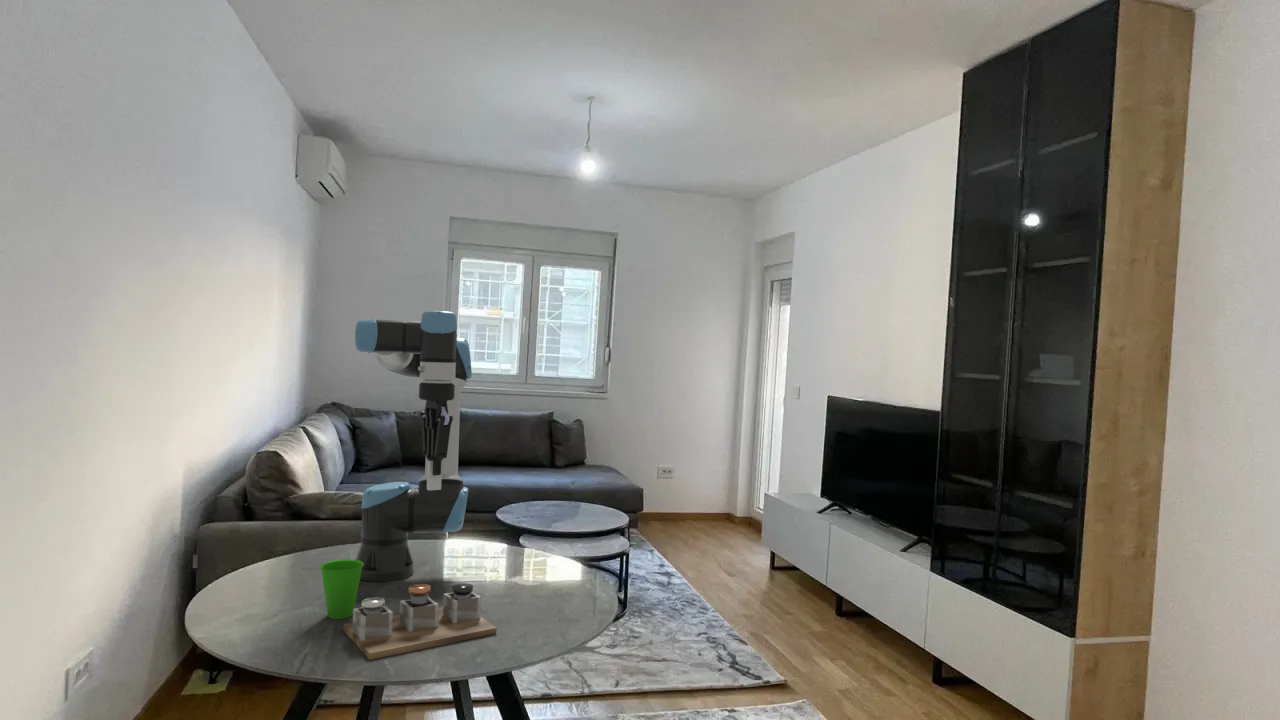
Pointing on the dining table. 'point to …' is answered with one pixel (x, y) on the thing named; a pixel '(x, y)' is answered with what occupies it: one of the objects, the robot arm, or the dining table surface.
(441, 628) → the panel
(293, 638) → the dining table surface
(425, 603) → the copper domed cylinder
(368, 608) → the offwhite plunger
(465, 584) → the black plunger
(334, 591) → the cup
